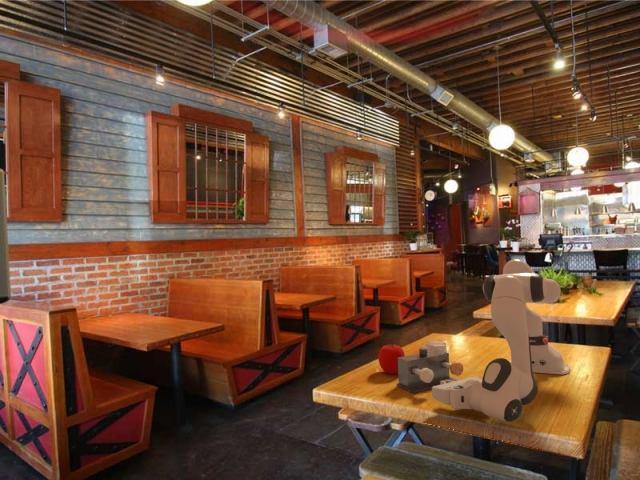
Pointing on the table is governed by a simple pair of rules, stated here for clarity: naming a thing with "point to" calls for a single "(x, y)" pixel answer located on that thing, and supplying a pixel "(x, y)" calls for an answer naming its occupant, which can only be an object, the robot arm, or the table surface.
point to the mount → (431, 362)
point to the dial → (423, 351)
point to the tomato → (390, 358)
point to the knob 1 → (424, 374)
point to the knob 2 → (453, 367)
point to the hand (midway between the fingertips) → (443, 382)
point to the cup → (436, 346)
